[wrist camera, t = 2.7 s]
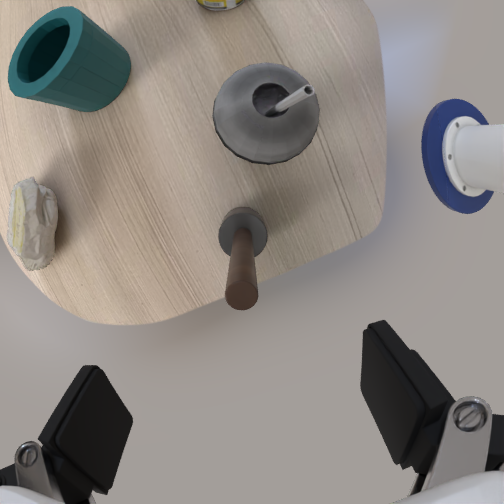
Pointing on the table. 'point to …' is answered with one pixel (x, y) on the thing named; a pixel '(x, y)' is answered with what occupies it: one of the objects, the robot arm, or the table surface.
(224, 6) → the pill bottle
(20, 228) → the fossil replica
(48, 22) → the jar
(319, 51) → the table surface
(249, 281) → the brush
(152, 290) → the table surface
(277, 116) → the beverage cup
